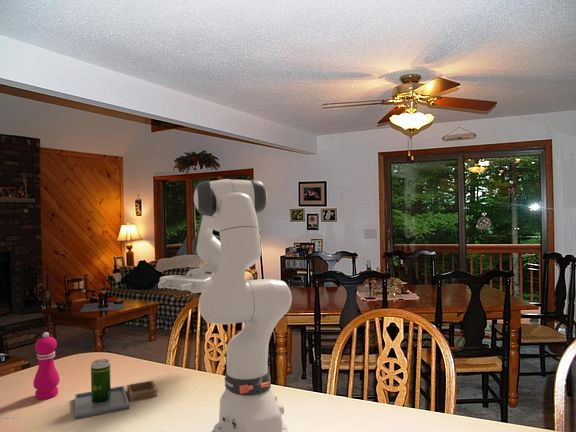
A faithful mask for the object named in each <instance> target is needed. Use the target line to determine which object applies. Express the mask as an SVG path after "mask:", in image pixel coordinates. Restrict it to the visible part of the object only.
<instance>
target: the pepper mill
mask: <svg viewBox="0 0 576 432" xmlns="http://www.w3.org/2000/svg"><path fill="white" fill-rule="evenodd" d="M57 345H58V344H57V340H56V339H55V338H54V337H52V336H50V333H49V332H47V331H45V332H43V333H42V337H41V338H40V337H39V339H38V340H36V342H35V344H34V349H35V352H37V353H36V359H38V368H37V371H36V373H35V376H34V378H33V387H34V388H35V393H34V394H35V395H34V396H35V399H36V400H38V401H39V400H41V401H42V400H43V401H44V400H48V399H52V398H54V397H56V396H57V395H59V387H58V385H59V384H60V375H59V372H58V370H57V369H56V365H55V361H54V360H55V357H56V351H55V350H56V348H57Z"/></svg>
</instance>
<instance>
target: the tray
mask: <svg viewBox="0 0 576 432" xmlns="http://www.w3.org/2000/svg"><path fill="white" fill-rule="evenodd" d="M126 391H127V390H126V388H125V386H124V385H122V386H114V387H111V398H110V401H109V402H108V403H106V404H103V405H94V404H93V403H92V401H91V391H85V392H81V393H74V409H75V410H74V413H75V414H74V415H75V416H74V419H75V420H78V419H82V418H89V417H92V416H98V415H104V414H109V413H113V412H118V411H123V410H128V409H129V410H130V401H129V399H128V398H129V397H128V394H127V393H126Z"/></svg>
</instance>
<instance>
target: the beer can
mask: <svg viewBox="0 0 576 432" xmlns="http://www.w3.org/2000/svg"><path fill="white" fill-rule="evenodd" d="M90 382H91V383H90V389H91V391H90V392H91V401H92V403H93V404H94V405H103V404H106V403H108V402H109V401H110V398H111V388H112V387H111V386H112V385H111V362H110V360H109V359H107V358H102V359H96V360H93V361H92V362H91V365H90Z"/></svg>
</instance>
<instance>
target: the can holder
mask: <svg viewBox="0 0 576 432" xmlns="http://www.w3.org/2000/svg"><path fill="white" fill-rule="evenodd" d="M126 387H127V388H126V391H127V396H128V398H129V399H128V400H129V402H132V401H138V400H143V399H149V398H154V397H158V388H157V387H156V384H155V382H154V380H149V381H148V380H147V381H142V382H137V383H132V384H127V385H126ZM145 389H146V390H145Z"/></svg>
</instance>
